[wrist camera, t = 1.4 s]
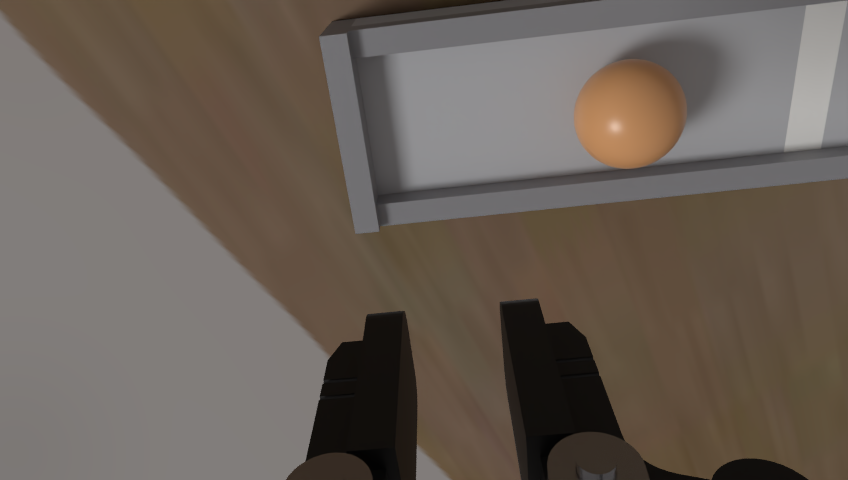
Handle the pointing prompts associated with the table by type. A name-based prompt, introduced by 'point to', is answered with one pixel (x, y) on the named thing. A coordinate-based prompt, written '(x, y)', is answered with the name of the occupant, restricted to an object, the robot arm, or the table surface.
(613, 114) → the ball
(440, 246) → the table surface
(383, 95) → the lane
